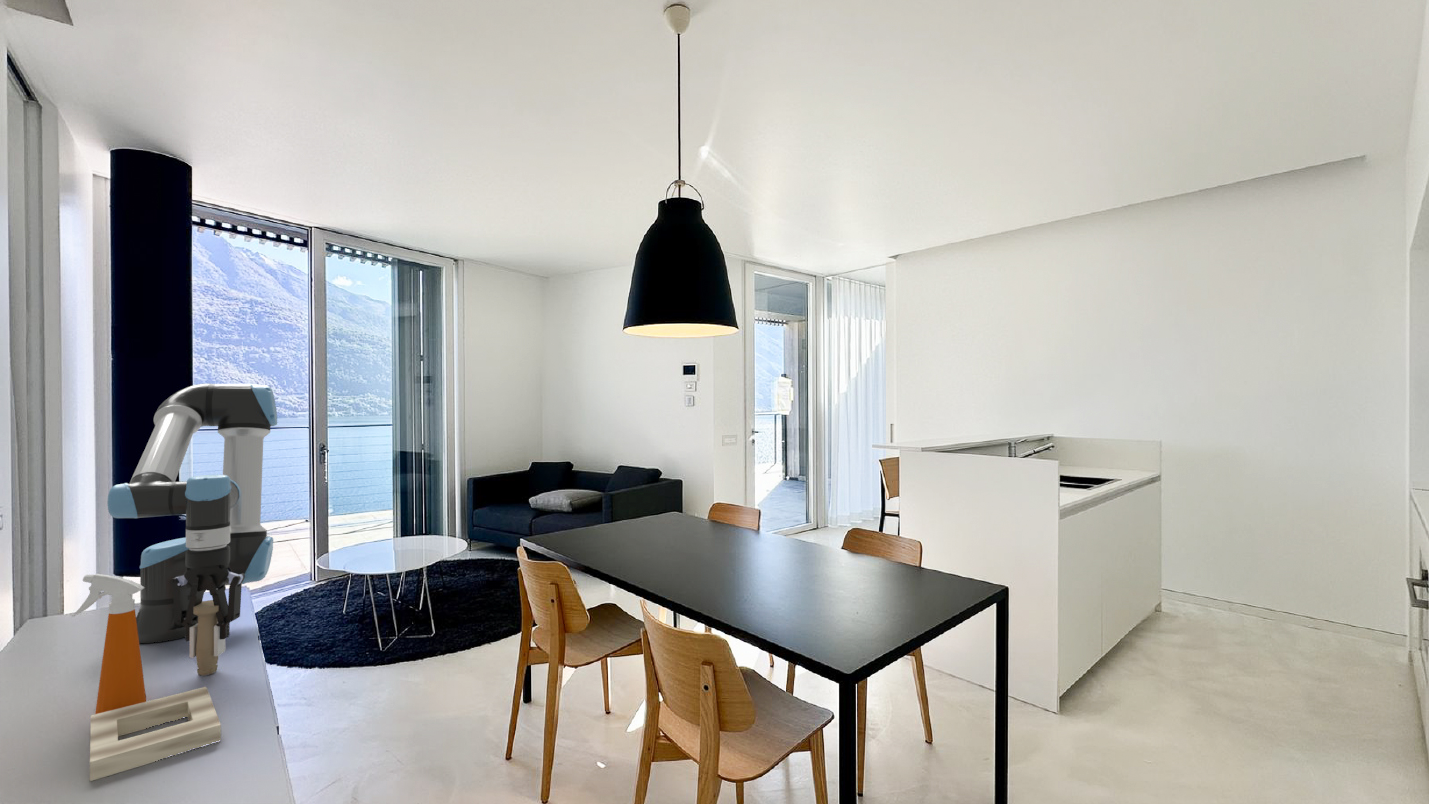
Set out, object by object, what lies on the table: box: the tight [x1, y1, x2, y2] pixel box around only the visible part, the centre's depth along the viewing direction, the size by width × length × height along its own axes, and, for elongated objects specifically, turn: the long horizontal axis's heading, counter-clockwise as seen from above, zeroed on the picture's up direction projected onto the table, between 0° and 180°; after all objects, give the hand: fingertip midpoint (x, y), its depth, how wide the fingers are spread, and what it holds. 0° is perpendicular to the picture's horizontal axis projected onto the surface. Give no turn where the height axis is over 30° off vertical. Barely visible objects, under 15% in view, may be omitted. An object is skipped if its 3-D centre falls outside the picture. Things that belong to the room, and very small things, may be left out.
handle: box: [193, 599, 219, 677], centre depth 134 cm, size 5×6×15 cm
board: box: [89, 686, 222, 782], centre depth 109 cm, size 20×16×3 cm
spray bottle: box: [71, 572, 147, 715], centre depth 118 cm, size 7×11×26 cm, turn 111°
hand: (207, 654), depth 134 cm, fingers closed on handle, 4 cm apart
